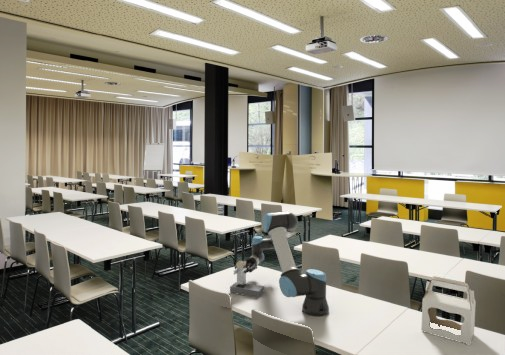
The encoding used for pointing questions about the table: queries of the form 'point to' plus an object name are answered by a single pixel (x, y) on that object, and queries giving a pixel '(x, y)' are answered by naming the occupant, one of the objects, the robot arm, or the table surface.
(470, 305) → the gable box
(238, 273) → the steel peg
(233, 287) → the grey rectangular block
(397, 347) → the table surface
